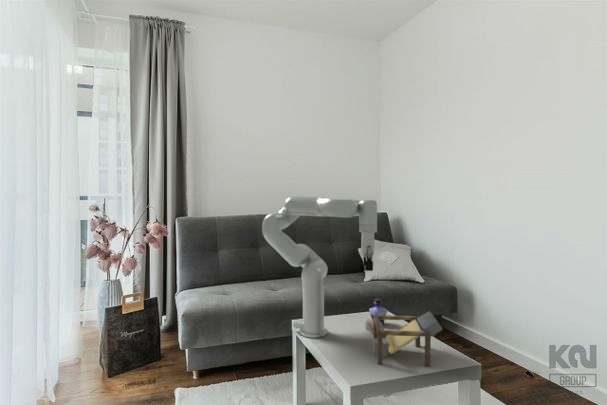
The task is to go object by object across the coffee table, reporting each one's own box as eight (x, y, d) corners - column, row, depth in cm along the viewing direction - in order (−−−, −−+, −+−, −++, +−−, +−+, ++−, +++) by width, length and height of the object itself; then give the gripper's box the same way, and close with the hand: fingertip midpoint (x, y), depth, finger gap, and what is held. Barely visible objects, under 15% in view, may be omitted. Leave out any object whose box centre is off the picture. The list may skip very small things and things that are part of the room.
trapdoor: (394, 360, 134) (389, 351, 134) (389, 344, 148) (384, 337, 148) (443, 330, 132) (438, 322, 132) (433, 317, 146) (428, 310, 146)
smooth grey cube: (387, 356, 139) (374, 355, 139) (386, 350, 144) (373, 350, 144) (387, 343, 139) (374, 343, 139) (386, 338, 144) (373, 337, 144)
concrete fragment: (378, 327, 170) (378, 314, 170) (388, 339, 156) (388, 325, 156) (364, 328, 169) (364, 315, 169) (372, 340, 155) (372, 325, 155)
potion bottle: (375, 328, 168) (375, 302, 168) (365, 322, 176) (365, 297, 176) (390, 325, 171) (390, 300, 171) (380, 320, 179) (380, 296, 179)
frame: (377, 364, 132) (377, 331, 132) (373, 343, 151) (373, 315, 150) (430, 366, 130) (430, 333, 130) (419, 345, 149) (419, 316, 149)
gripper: (358, 226, 165) (358, 264, 165) (360, 230, 148) (360, 272, 148) (375, 226, 164) (375, 264, 164) (379, 230, 147) (379, 272, 147)
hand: (368, 268), depth 156 cm, fingers open, 9 cm apart
